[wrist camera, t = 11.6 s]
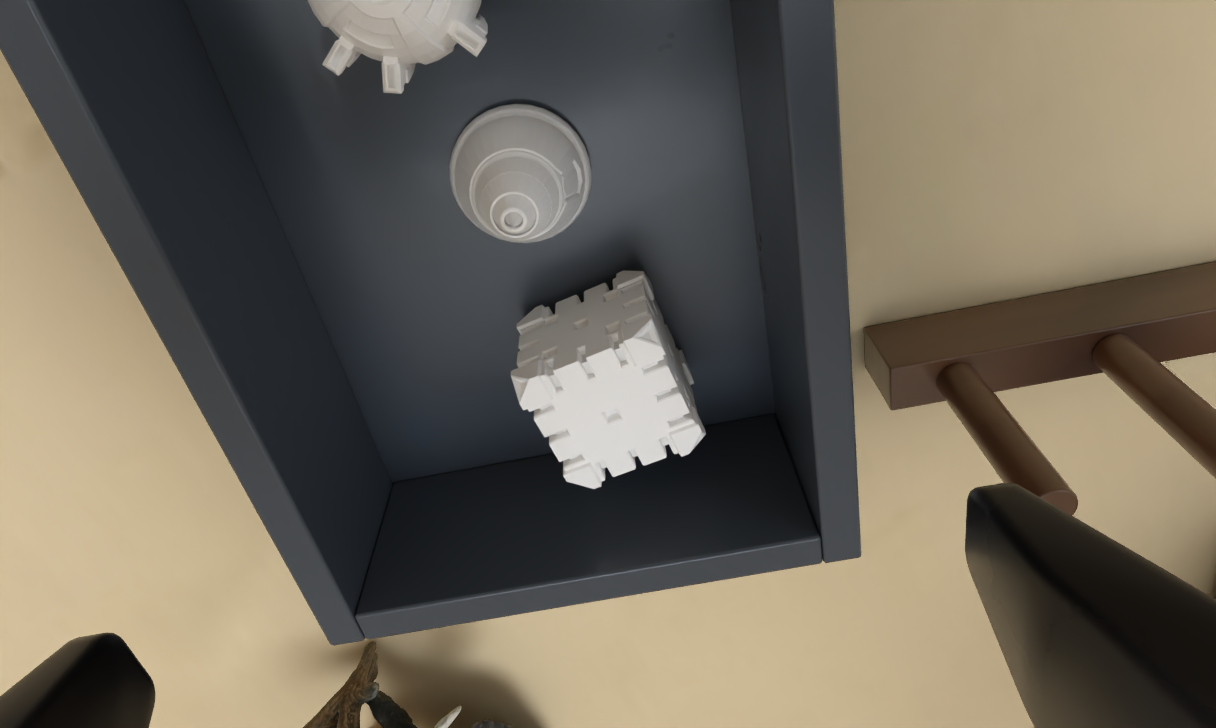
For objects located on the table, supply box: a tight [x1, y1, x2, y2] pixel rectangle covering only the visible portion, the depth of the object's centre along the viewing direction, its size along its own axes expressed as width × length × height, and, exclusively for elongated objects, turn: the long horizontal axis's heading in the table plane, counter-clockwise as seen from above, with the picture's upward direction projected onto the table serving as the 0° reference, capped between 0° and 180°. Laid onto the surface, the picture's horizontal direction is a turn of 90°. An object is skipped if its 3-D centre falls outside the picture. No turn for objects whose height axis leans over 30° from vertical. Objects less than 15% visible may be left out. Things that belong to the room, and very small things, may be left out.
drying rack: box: [864, 262, 1216, 516], centre depth 14 cm, size 10×16×6 cm, turn 11°
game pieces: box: [308, 0, 706, 489], centre depth 16 cm, size 12×3×3 cm, turn 24°
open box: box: [0, 0, 861, 645], centre depth 16 cm, size 12×17×5 cm
